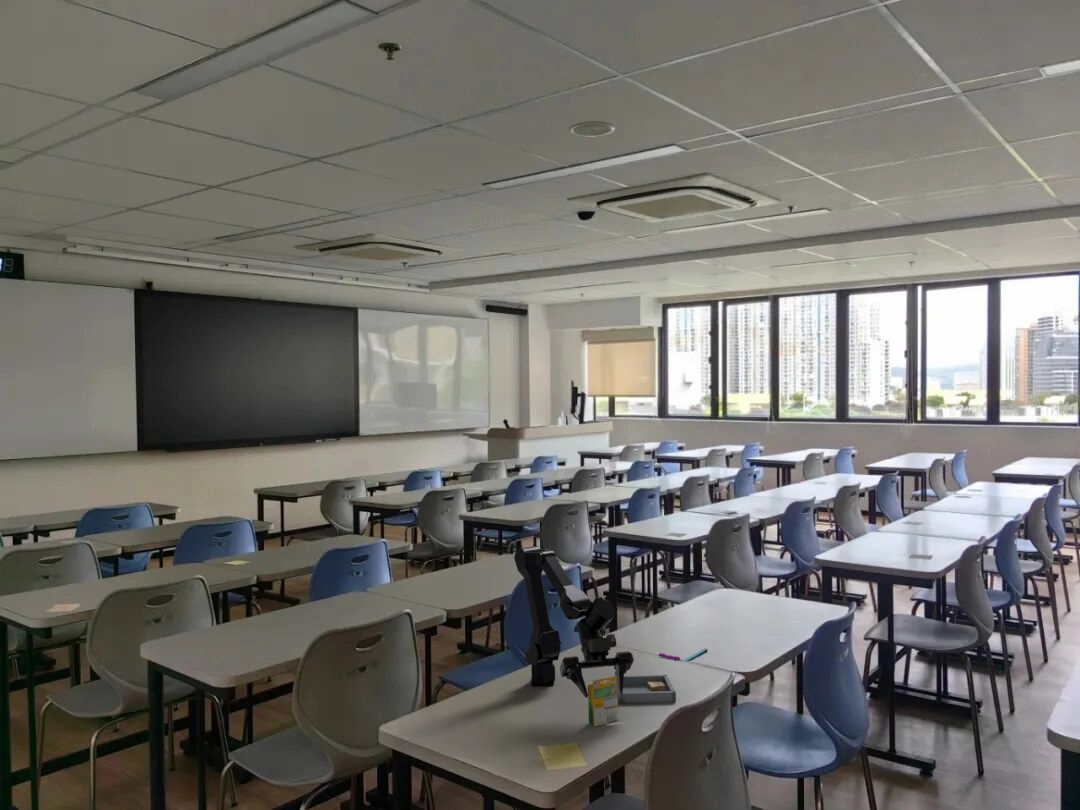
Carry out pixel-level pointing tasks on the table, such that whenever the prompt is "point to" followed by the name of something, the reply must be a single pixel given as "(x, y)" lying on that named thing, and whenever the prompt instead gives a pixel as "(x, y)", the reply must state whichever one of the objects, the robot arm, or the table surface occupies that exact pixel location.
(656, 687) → the wood tile
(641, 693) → the tray
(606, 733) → the table surface
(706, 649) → the bent bar
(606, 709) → the crayon box
